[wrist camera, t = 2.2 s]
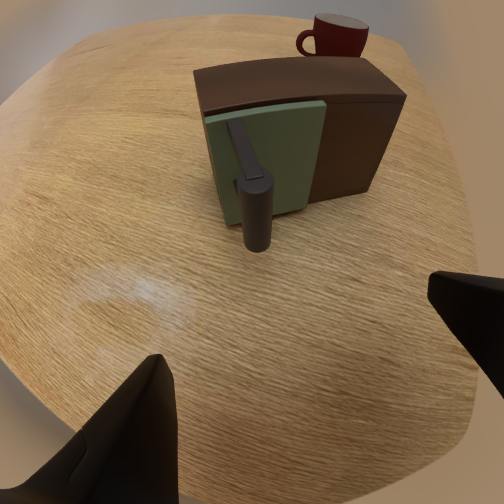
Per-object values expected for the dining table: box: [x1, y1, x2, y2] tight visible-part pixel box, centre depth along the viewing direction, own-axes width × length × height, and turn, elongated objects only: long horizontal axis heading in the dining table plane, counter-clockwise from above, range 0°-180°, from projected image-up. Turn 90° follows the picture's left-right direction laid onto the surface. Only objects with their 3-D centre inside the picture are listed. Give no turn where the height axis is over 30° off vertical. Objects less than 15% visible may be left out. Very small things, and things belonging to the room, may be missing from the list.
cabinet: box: [193, 56, 407, 221], centre depth 21 cm, size 6×14×12 cm, turn 105°
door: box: [204, 100, 327, 253], centre depth 17 cm, size 6×7×11 cm
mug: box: [296, 14, 369, 58], centre depth 32 cm, size 10×8×10 cm
